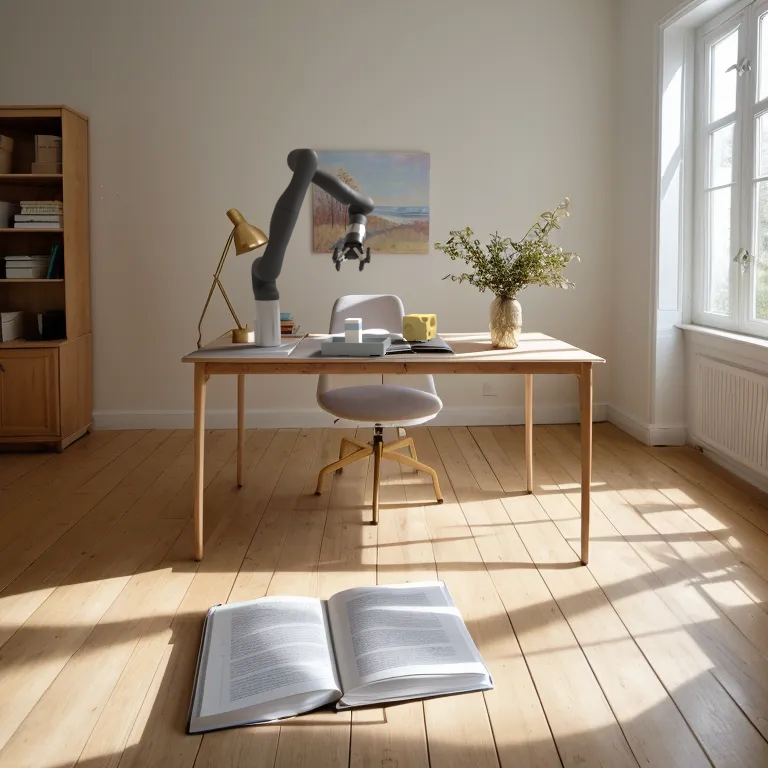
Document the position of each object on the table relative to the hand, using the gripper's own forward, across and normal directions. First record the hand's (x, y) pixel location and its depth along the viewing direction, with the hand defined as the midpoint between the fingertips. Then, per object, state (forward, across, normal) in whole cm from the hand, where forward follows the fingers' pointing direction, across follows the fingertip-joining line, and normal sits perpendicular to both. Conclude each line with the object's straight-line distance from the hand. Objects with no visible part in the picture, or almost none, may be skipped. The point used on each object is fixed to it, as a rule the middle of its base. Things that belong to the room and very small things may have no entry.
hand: (349, 270), depth 305 cm
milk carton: (+33, +6, +6) cm, 34 cm away
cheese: (+11, +24, +29) cm, 39 cm away
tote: (+33, +7, +6) cm, 35 cm away
